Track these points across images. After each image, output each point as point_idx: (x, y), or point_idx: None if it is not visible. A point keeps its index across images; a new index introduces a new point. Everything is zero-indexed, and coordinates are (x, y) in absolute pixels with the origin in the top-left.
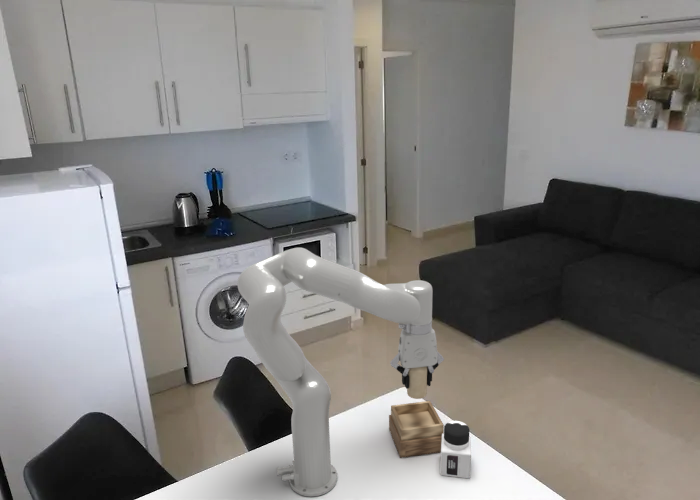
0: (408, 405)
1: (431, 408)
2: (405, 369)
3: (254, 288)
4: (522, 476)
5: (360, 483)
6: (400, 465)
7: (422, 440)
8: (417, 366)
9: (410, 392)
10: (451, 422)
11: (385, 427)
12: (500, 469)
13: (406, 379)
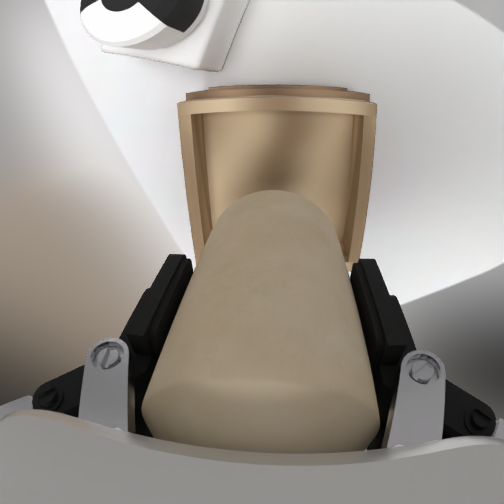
0: None
1: (201, 222)
2: (435, 421)
3: None
4: (53, 9)
5: (473, 45)
6: (362, 61)
7: (280, 88)
8: (304, 480)
9: (335, 237)
10: (138, 17)
11: None
12: None
13: (393, 321)
